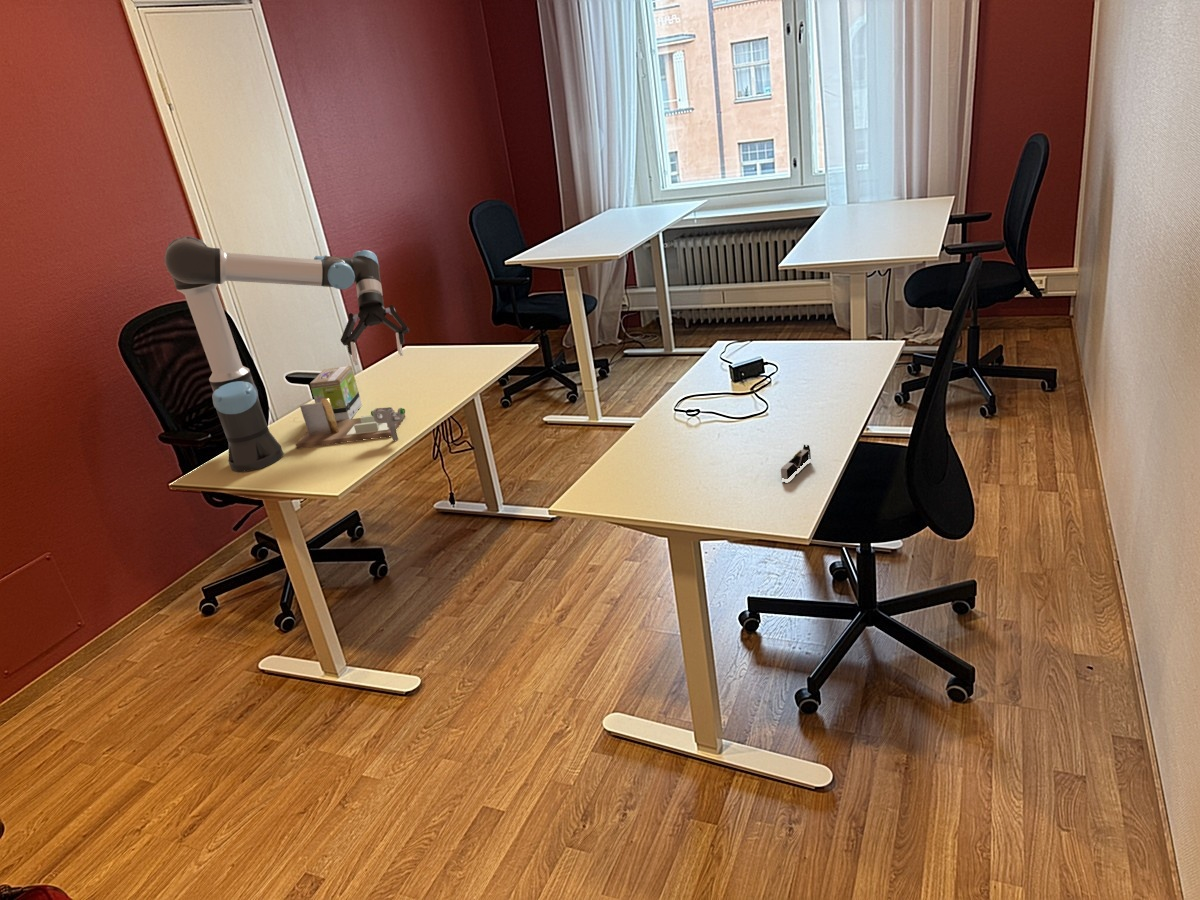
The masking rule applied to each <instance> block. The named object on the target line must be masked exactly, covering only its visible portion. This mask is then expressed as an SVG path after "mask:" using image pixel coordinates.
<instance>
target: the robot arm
mask: <svg viewBox="0 0 1200 900" xmlns="http://www.w3.org/2000/svg"><path fill="white" fill-rule="evenodd" d="M165 250H166V251H165V253H164V254H165V255H164V265H165V268H166V270H167V272H168V274H170V276H171V278H172V280H173V283H174V287H175V288H176V291H177V292H179V293H181V294H183V295H184V296H185V300H186V303H187V306H188V308H189V312H190V314H191V316H192V319H193V322H194V325H195V327H196V331H197V334H198V336H199V339H200V343H201V345H202V348H203V351H204V352H205V356H206V359H207V362H208V364H209V368H210V371H211V372H212V373H211V375H210V377H209V378H208V380H209V384H210V386H211V389H212V396H211V398H212V404H213V407H214V409H216V413H217V416H218V418H219V421H220V423H221V426H222V429H223V432H224V434H225V437H226V439H227V440H226V441H227V442H228V465H229V466H230V469H231V470H232V471H233V472H238V473H240V472H241V473H242V472H243V473H244V472H245V473H246V472H250V471H256V470H259V469H262V468H265V467H268V466H271V465H272V464H275V463H276V462H277V461H279V460H280V459H281V458H282V457H283V455H284V450H283V447H282V446H281V444H280V443H279V442H278V440H277V439H276V438H275V437H274V436H273V434H272V433H271V431H270V429H269V427H268V424H267V421H266V418H265V414H264V412H263V408H262V406H261V402H260V399H259V392H258V389H257V386H256V384H255V381H254V380H253V376H252V373H251V370H250V368H248V367H246V366H244V365H243V363H242V361H241V358H240V355H239V351H238V349H237V345H236V343H235V340H234V337H233V334H232V331H231V328H230V325H229V323H228V320H227V317H226V314H225V310H224V307H223V304H222V302H221V301H222V300H221V298H220V295H219V292H218V289H217V287H218V285H222V284H224V283H225V282H241V283H242V282H245V283H260V284H277V285H294V286H295V285H296V286H312V287H324V288H325V287H327V288H334V289H337V290H347V289H349V288H351V287H352V285H354V283H355V287H356V288H355V289H356V297H357V304H358V313H357V314H356V313H355V314H353V313H352V312H350V313H348V321H347V322H346V323H347V324H346V326H345V328H344V330H343V333H342V335H341V338H340V342H341V344H342V345H343V346H344V347H345V346H347V352H348V353H349V355H350V356H351V358H352V359H351V360H352V362H353V364H354V365H355V366H358V365H359V360H358V353H357V345H356V341H358V339H359V337H360V336H361V335H362V333H363V332H364V330H365V329H367V327H368V326H369V327H372V326H379V325H381V323H382V324H383V325H385V326H386V327H388V328H389V329H391V330H392V331H394V332H395V337H396V346H397V347H396V348H397V352H398V354H399V356H400V357H401V356H402V357H403V356H404V353H403V347H402V346H403V345H405V334H408V333H410V328H408V325H407V324H406V323H405V322H404V321H403V319H402V318H401V316H399V314H398V313H397V311H396V309H395V307H394V305H393V304H390V305H389V306H388V307H385V304H384V303H385V302H384V297H383V295H384V294H383V288H382V287H383V286H382V280H381V274H380V273H381V272H380V263H379V260H378V257H377V254H375V252H374V251H371V250H368V249H363V250H357V251H356V252H355V253H354V254H353V255H352V257H341V256H332V255H330V256H328V255H316V256H315V257H313V258H312V259H311V258H300V257H299V258H297V257H286V256H273V255H259V254H246V253H234V252H233V253H231V252H225V251H224V250H223V249H222V248H221V247H220V248H218V247H211V246H210V247H209V246H207V244H206V243H205V242H203V241H202V240H201V239H198V238H196V237H192V236H181V237H178V238H175V239H174V240H172V241H171V242H170V243H169V244H168V246H167V248H166V249H165ZM387 314H389V315H391V316H393V318H394V320H395V321H396V322H397V323H398V325H399V326H400V327H399V326H398V325H396V324H395V323H393V322H392V321H391V320H390V319H388V318H387V317H386V316H387ZM358 320H359V321H358ZM357 321H358V324H357V325H356V323H357ZM355 325H356V327H355Z"/></svg>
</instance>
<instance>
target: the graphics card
mask: <svg viewBox="0 0 1200 900" xmlns="http://www.w3.org/2000/svg"><path fill="white" fill-rule="evenodd" d="M811 455H812V454H811V448H810V445H808V444H803V448H802V449H800V450H799V451H797V452H796V454H794V456H793V457H792V458H791V459H790V460H789V461H788V462H787V463H785V464H784V465H783V466H781V468H780V474H781V475H780V476H781V477H780V478H781V479H782V478H784V479H788V478H789V477H790V476H791V475H792V474H793V473H794V472H795V471H797V469H798V468H800V466H802V465H803V463H805V462H806V461H807V460H808V459H811V458H812V457H811ZM811 460H812V459H811Z"/></svg>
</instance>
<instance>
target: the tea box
mask: <svg viewBox="0 0 1200 900" xmlns="http://www.w3.org/2000/svg"><path fill="white" fill-rule="evenodd" d="M355 377H356V376H355V374H354V370H353V367H352V366H351V365H347V366H340V367H332V368H326V369H323V370H321V371H320V373H319V374H317V376H316V377H314V379H313V380H312V381H311V382H310V383H309V387H310V390H311V393H312V396H313V400H314V403H321V400H322V399H324V398H329V400H330V403H331V406H332V409H333V413H334V416H335V419H336V421H340V420H348V419H353V417H354V416H355V415H356V413H358V411H359V410H360V409H361V407H362V406H363V403H362V400H361V396H360V391H359V389H358V388H359V387H358V385H357V381H356V379H355ZM361 405H362V406H361ZM360 406H361V407H360ZM358 409H359V410H358Z"/></svg>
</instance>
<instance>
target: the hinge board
mask: <svg viewBox="0 0 1200 900" xmlns="http://www.w3.org/2000/svg"><path fill="white" fill-rule="evenodd" d="M299 408H300V411H301V414H302V417H303V419H304V420H303V421H304V423H305V426H306V429H307V431H306V432H305V433H304V434H303V436H301V438H299V440H297V442H296V443H295V446H296V449H304V448H305V449H306V448H311V447H312V448H313V447H319V446H328V444H330V445H336V444H335V443H338V444H342V443H341V442H346V443H348V442H347V441H354V442H357V441H356V440H362V441H364V440H363V439H370V440H372V439H371V438H378V439H381V438H380V437H386V438H390V437H389V436H392V435H391V431H390V428H388V427H387V423H377V422H375V420H374V417H373V416H372V415H371V414H370V415H363V416H361V417H358V418H352V419H348V420H340V421H336V419H335V416H334V413H333V409H332V406H331V403H330V400H329V398H324V399H322V400H321V403H315V402H314V403H313V402H312V403H307V404H300V405H299ZM395 418H400V417H399V416H397V417H395ZM405 418H406V416H405V417H404V418H403V419H404V420H405ZM403 419H402V420H401V421H400V422H395V424H396V426H395V429H397V428H398V429H399V427H400V426H401V424H402V423H403V422H404V420H403ZM401 422H402V423H401ZM399 425H400V426H399ZM398 429H397V430H398Z"/></svg>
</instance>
